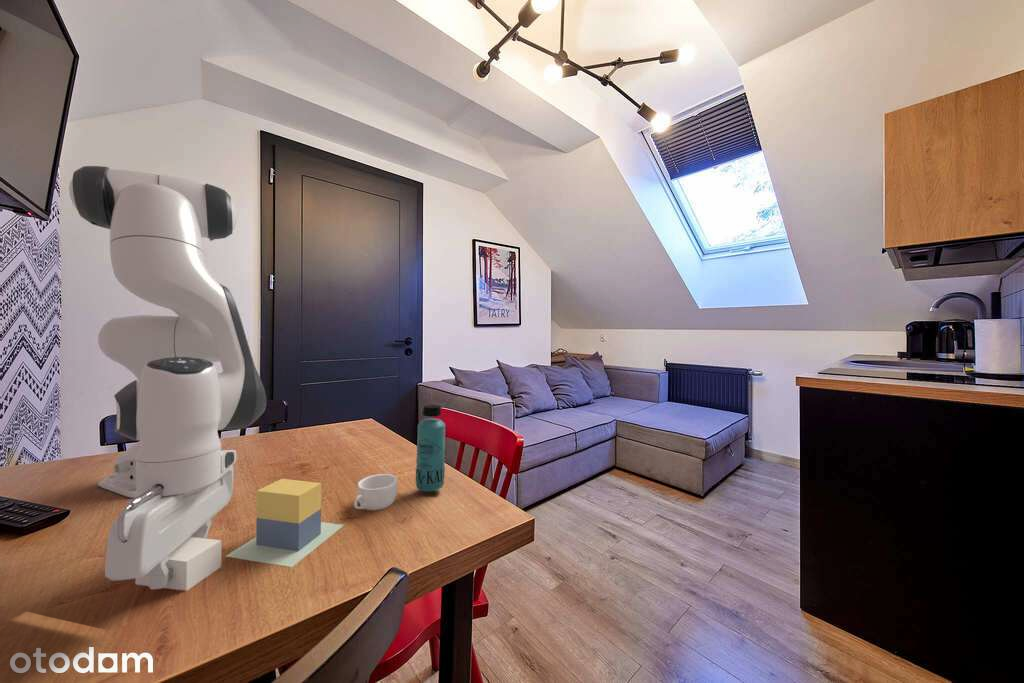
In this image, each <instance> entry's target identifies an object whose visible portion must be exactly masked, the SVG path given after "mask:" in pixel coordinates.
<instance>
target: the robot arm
mask: <svg viewBox="0 0 1024 683" xmlns="http://www.w3.org/2000/svg"><path fill="white" fill-rule="evenodd" d="M68 190H69V197H70V200H71V202H72V204H73V206H74V207H75V209H76V210H77V212H78V214H79V216H80V217H81V219H84V220H85V221H87V222H88V223H90V224H91V225H94V226H97V227H100V228H103V229H106V230H107V229H108V230H110V231H109V251H110V252H109V253H110V254H109V255H110V261H111V262H110V263H111V268H112V271H113V275H114V277H115V279H116V280H117V281H118V283H120V285H121V286H122V287H123V288H125V289H126V290H127V291H128V292H130V293H131V294H133V295H135V296H136V297H138V298H140V299H142V300H144V301H146V302H148V303H150V304H152V305H156V306H158V307H162V308H165V309H169V310H170V311H172V312H174V314H176V315H177V316H174V315H173V316H172V315H150V314H149V315H148V314H147V315H146V314H145V315H144V314H140V315H139V314H138V315H130V316H119V317H113V318H111V319H109V320H107V322H105V324H103V325H102V327H101V328H100V330H99V331H98V334H97V343H98V344H97V345H98V347H99V348H100V350H101V351H102V354H104V356H106V357H107V358H109V359H110V360H112V361H113V362H115V363H118V364H119V365H121V366H123V367H124V368H126V369H127V370H128V371H129V372H131V373H132V375H134V377H135V378H136V379H135V380H133V381H131V382H130V383H128V384H126V385H125V386H124V387H123V388H120V390H119V391H117V392H116V393H114V394H113V396H114V399H115V401H116V416H115V424H114V429H113V432H115V433H117V435H118V434H119V435H121V436H123V437H125V438H128V440H132V441H137V442H136V443H134V444H132V446H131V447H130V448H128V449H127V450H126V451H124V452H123V453H121V454H120V455H118V457H116V459H115V462H114V467H113V468H114V469H113V470H114V472H113V474H112V475H110V476H108V477H105V478H103V479H101V480H99V481H98V484H97V487H99V486H100V487H99V488H102V489H105V490H108V491H111V492H113V493H116V494H119V495H121V496H124V497H126V498H131V499H129V500H128V501H127V502H126V503H125V507H124V508H123V509H122V511H121V513H119V514H118V516H116V517H115V519H114V521H113V522H112V524H111V527H110V529H109V534H108V539H107V546H106V553H105V562H104V575H105V578H107V579H108V580H110V581H112V582H113V581H114V582H115V581H124V580H125V581H126V580H134V579H135V578H140V577H143V576H145V575H147V576H148V577H149V586H148V587H149V589H150V590H159V589H165V588H164V587H165V586H166V585H167V584H168V583H169V582H170V581H171V580H172V578H173V575H172V574H173V568H167V566H166V564H165V563H166V562H167V561H168V555H169V554H170V553H171V552H173V551H174V550H175V549H176V548H177V547H178V546H180V545H181V544H182V543H183V542H184V541H185V540H186V539H188V538H189V537H196V538H205V539H207V536H208V534H209V531H210V528H211V525H212V518H213V517H214V516H216V515H217V514H218V513H219V512H220V511H221V510H222V509H224V508H225V507H226V506H227V505H228V504H229V503H230V500H231V498H232V496H233V489H234V476H235V474H234V471H235V470H234V465H233V464H235V463H236V461H237V451H236V450H235V449H224V450H223V449H222V442H221V439H220V436H219V433H218V431H230V430H231V431H232V430H241V429H242V430H243V429H247V428H248V427H250V426H251V425H252V424H254V423H255V422H256V421H257V420H258V419H259V418H261V416H262V415H263V414H264V412H265V411H266V407H267V395H266V390H265V387H264V383H263V382H262V379H261V376H260V374H259V372H258V370H257V368H256V365H255V362H254V358H253V355H252V352H251V350H250V345H249V341H250V340H249V339H250V338H249V335H248V332H247V329H246V328H245V327H244V325H243V323H242V322H243V321H242V318H241V316H240V312H239V310H238V307H237V304H236V302H235V301H236V300H235V299H234V297H233V295H232V293H231V291H230V288H228V287H227V286H225V285H223V284H222V283H219V282H218V280H216V278H215V277H214V276H213V274H212V273H211V271H210V270H209V269H208V266H207V264H206V263H207V262H206V256H205V255H206V254H205V247H204V243H203V238H207V239H209V241H210V242H211V241H214V240H219V239H220V240H221V239H226V238H228V237H230V236H231V235H232V234H233V231H234V230H235V227H236V225H237V222H238V211H237V208H236V205H235V203H234V201H233V200H232V196H231V195H230V194H229V193H228V192H227V191H226V190H225V189H223V188H220V187H218V186H215V185H213V184H209V183H205V184H202V183H200V182H197V181H196V182H195V181H192V180H189V179H183V178H180V177H177V176H172V175H167V174H161V173H160V174H155V173H151V172H150V173H148V172H141V171H135V170H124V169H110V168H109V167H108V166H104V165H103V166H102V165H99V166H97V165H86V166H85V165H84V166H82V167H79V168H78V169H76V170H75V171H73V173H72V178H71V180H70V181H69V186H68ZM217 362H220V364H221V368H222V372H220V373H218V370H217V368H216V365H215V363H217Z"/></svg>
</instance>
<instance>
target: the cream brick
mask: <svg viewBox="0 0 1024 683" xmlns="http://www.w3.org/2000/svg"><path fill="white" fill-rule="evenodd" d="M165 564H166V566H167V568H173V574H172V575H173V578H172V580H171V581H170V582H169V583H168V584H167V585H166V586H165V587H164V588H163V589H170V590H176V591H177V590H178V591H185V592H186V591H188V590H190V589H191V588H192V587H194V586H195V585H198V584H199V583H200V582H201V581H202V580H204V579H206V578H208V576H210V575H212V574H213V573H215V572H216V571H217V570H218V569H221V567H222V540H221V539H214V538H206V539H205V538H196V537H191V536H190V537H189V538H188V539H186V540H185V541H184V542H183V543H182V544H181V545H180V546H178V547H177V548H176V549H175V550H174V551H173V552H171V553H170V554H169V555H168V561H167V562H166V563H165ZM134 579H135V581H134V582H135V585H137V586H144V587H145V586H146V587H149V577H148V576H147V575H145V576H143V577H140V578H134Z"/></svg>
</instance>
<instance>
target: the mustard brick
mask: <svg viewBox="0 0 1024 683" xmlns="http://www.w3.org/2000/svg"><path fill="white" fill-rule="evenodd" d="M320 509H321V510H322V483H321V482H314V481H306V480H305V481H304V480H296V479H287V478H280V479H278V480H276V481H274V482H272V483H270V484H268V485H266V486H264V487H262V488H260V489H258V490H256V519H257V518H262V519H269V520H276V521H284V522H291V523H298V524H299V523H301V522H302V521H303V520H305V519H306V518H308V517H309V516H311V515H312V514H314V513H315V512H317V511H318V510H320Z"/></svg>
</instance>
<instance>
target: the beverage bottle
mask: <svg viewBox="0 0 1024 683" xmlns="http://www.w3.org/2000/svg"><path fill="white" fill-rule="evenodd" d="M441 415H442V406H441V405H439V404H426V405H424V406H423V412H422V416H425V417H431V418H424V419H422V420H420V422H419V423H418V424H417V441H416V442H417V444H416V454H415V456H416V457H415V458H416V460H415V461H416V466H415V486H416V489H417V490H419V491H422V492H433V491H434V492H435V491H437V490H440V489H441V488H442V487H443V486H444V484H445V482H444V481H445V474H446V471H445V470H446V465H445V458H446V456H445V455H446V450H445V447H446V446H445V445H446V443H445V442H446V440H445V439H446V423H445V422H444V421H443V420H442V419H440V418H432V417H439V416H441Z"/></svg>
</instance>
